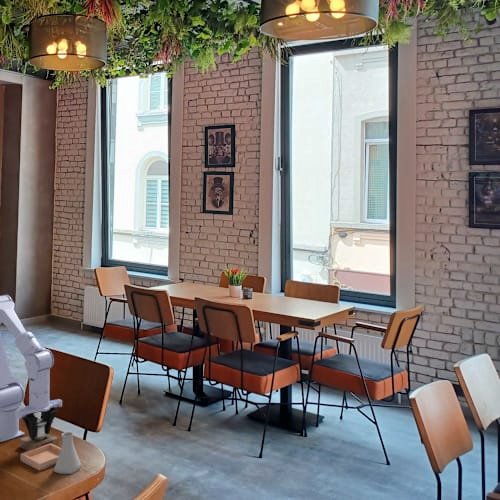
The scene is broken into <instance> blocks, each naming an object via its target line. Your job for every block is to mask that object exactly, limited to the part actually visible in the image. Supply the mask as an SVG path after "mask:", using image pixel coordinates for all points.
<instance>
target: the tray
mask: <svg viewBox="0 0 500 500" xmlns="http://www.w3.org/2000/svg"><path fill="white" fill-rule="evenodd" d="M60 451H61V447H60V446H56V445H53V444H51V443H50V444H47V445H45V446H42V447H39V448H36V449H33V450H30V451H27V450H26V451H25V452H22V453H20V461H21V462H23V463H24V464H26V465H28V466H30V467H31V468H34V469H35V470H37V471H40V472H41V471H43V470H46V469H48V468H52V467H55V465H56V463H57V460H58V457H59V454H60Z"/></svg>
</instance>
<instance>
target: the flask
mask: <svg viewBox="0 0 500 500" xmlns="http://www.w3.org/2000/svg"><path fill="white" fill-rule="evenodd" d="M74 434H75V433H74V432H72V431H65V432H63V433H61V438H62V440H61V441H62V443H61V447H60V448H61V451H60V454H59V457H58V460H57V463H56V465H54V469H53V472H54V473H58V474H61V475H63V474H68V475H69V474H70V475H71V474H74V473H76V472H77V471H80V470H81V466H82V463H81V461H80V458H79V456H78V454H77V450H76V448H75V445H74V440H73V439H74Z"/></svg>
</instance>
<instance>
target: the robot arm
mask: <svg viewBox="0 0 500 500" xmlns="http://www.w3.org/2000/svg"><path fill="white" fill-rule="evenodd" d="M15 306H16V305H15V302H14V300H13V299H12V297H11V296H10V295H9V294H4V295H0V325H1V324H2V323H3V325H4V326H5V327H6V328H7V329H8V330H9V332H10V333H11V334H12V335H13V336H14V338H15V339H14V345H15V346H16V348H17V349H18V351H19V353H20V354H21V355H22V357H23V358H24V360H25V361H24V366H25V367H24V368H25V369H26V371H27V373H26V374H27V377H28V379H29V380H28V381H29V382H28V383H29V384H28V385H29V386H28V389H29V390H28V394H29V398H28V404H29V405H26V406H25V407H23V408H20V407H21V405H22V403H23V402H24V400H25V397H26V392H25V388H24V386H23V385H22V383H21V380H20V377H19V378H18V377H16V376H15V375H13V374H12V373H11V367H10V364H9V361H8V356H7V353H6V349H5V348H6V347H5V345H4V341H3V338H2V333H1V332H0V442H1V443H2V442H6V441H9V440H11V439H15V438H18V437H21V436H25V434H26V433H25V432H23V431H22V430H19V429H20V423H19V422H20V420H21V419H22V420H23V422H24V424H25V427H26V429H27V433H28V436H29V437H30V438H32V439H35V437H36V424H37V420H38V419H39V418H38V417H37V416H36V415H35V414H38V413H41V417H42V418H41V419H46V420H47V424H46V425H45V434H50V432H51V428H52V426H53V425H52V424H53V422H54V420H55V417H56V416H57V414H58V410H57V409H56V408H62V407H63V400H62V399H60V398H58V399H53V400H51V399H50V389H51V388H50V387H51V386H50V385H51V384H50V379H51V378H50V377H51V376H50V374H51V370H50V369H52V367H53V366H54V365H55V358H54V354H53V353H52V351H51V350H50V349H47V348H45V347H43V346H42V345H41V344H40V342H39V341H38V340H37V337H35V335H34V334H33V333H32V332H31V331H27V330H26V329H25V327H24V326H23V325H24V324H23V323H22V322H21V320H20V318H19V316H18V315H17V313H16V312H15V309H16V307H15Z"/></svg>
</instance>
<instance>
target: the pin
mask: <svg viewBox="0 0 500 500" xmlns="http://www.w3.org/2000/svg"><path fill="white" fill-rule="evenodd" d="M46 424H47V420H46V419H43V418H38V420H37V424H36V437H35V439H34V441H36V442H39V441H42V440H45V425H46Z"/></svg>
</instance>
